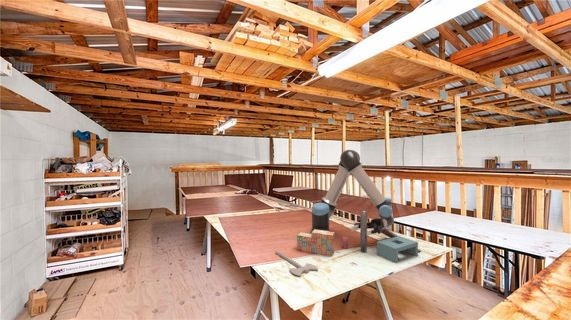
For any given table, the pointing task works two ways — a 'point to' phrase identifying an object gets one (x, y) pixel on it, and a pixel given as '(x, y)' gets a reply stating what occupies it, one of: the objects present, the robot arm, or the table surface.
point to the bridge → (396, 247)
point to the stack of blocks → (316, 242)
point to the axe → (297, 265)
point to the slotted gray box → (392, 235)
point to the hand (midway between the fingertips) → (359, 231)
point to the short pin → (344, 242)
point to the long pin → (363, 232)
